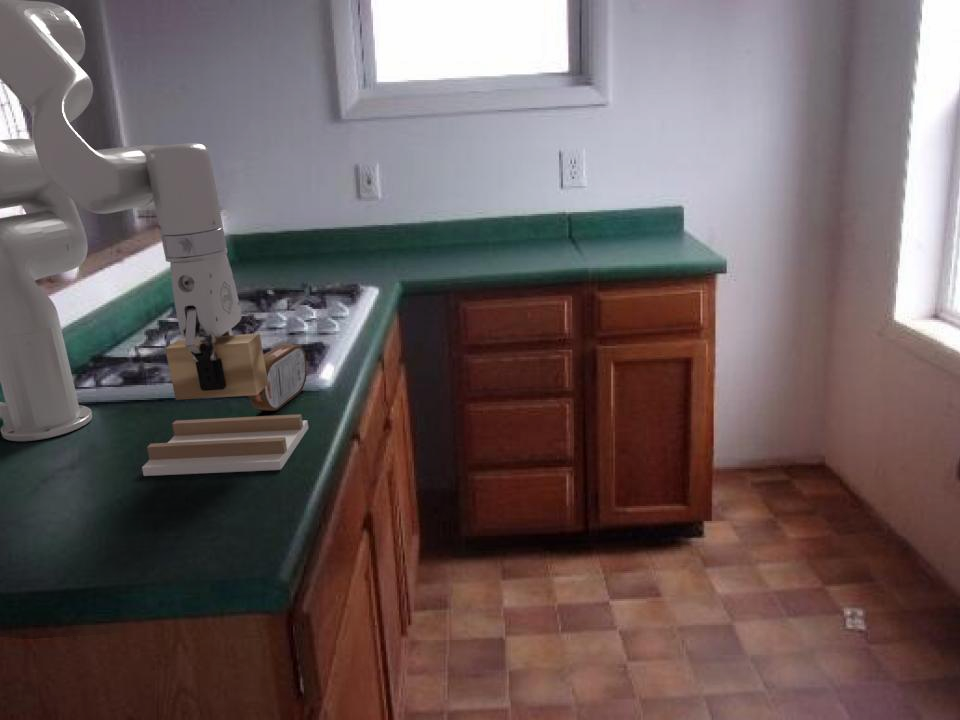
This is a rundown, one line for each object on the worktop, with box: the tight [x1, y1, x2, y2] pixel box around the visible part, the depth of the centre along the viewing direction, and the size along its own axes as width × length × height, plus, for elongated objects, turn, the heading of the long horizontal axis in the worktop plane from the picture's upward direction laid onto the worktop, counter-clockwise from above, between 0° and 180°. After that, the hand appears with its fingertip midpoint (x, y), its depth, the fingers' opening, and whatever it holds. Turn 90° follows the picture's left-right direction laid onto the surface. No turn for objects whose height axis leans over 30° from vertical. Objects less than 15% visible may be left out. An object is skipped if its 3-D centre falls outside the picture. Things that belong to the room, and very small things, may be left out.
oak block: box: [164, 332, 268, 401], centre depth 113 cm, size 4×11×7 cm, turn 85°
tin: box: [248, 342, 308, 412], centre depth 133 cm, size 15×3×8 cm, turn 166°
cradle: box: [141, 413, 309, 477], centre depth 116 cm, size 18×14×3 cm
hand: (220, 381), depth 113 cm, fingers closed on oak block, 4 cm apart
